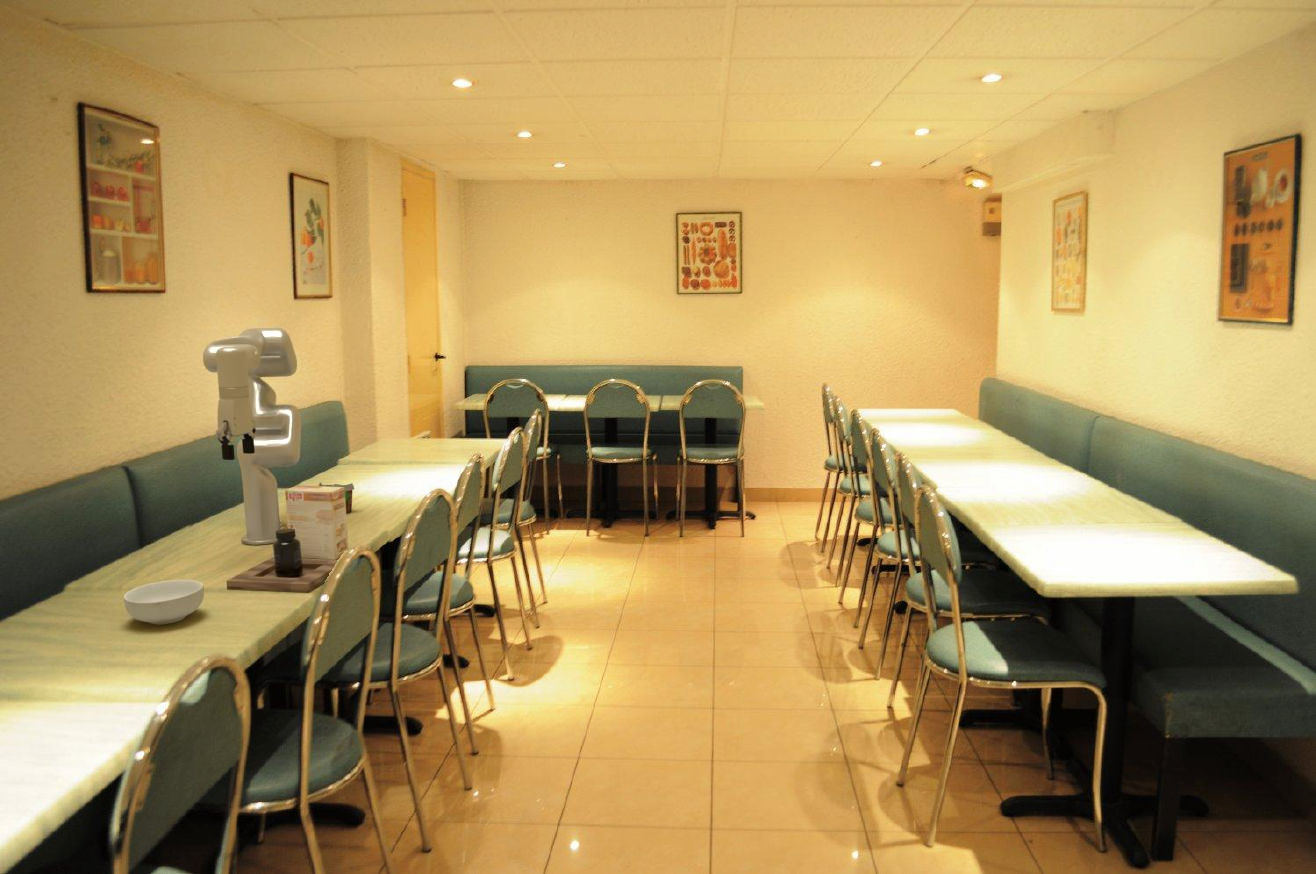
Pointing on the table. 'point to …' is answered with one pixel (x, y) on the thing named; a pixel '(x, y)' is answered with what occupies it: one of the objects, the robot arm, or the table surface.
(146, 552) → the table surface
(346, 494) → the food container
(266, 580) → the wooden tray
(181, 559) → the table surface
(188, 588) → the cereal bowl
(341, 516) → the coffeecake box
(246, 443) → the robot arm
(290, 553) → the supplement bottle
